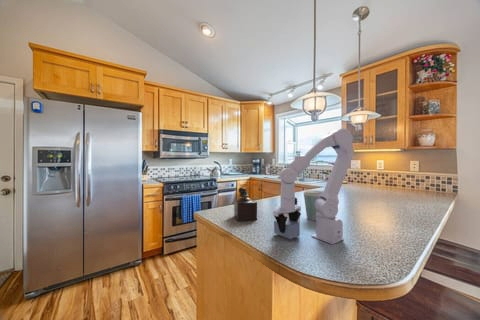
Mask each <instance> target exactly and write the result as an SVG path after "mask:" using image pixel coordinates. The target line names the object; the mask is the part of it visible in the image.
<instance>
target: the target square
mask: <svg viewBox="0 0 480 320" xmlns="http://www.w3.org/2000/svg"><path fill="white" fill-rule="evenodd" d="M275 237H277V238H279V239H281V240H284V241H286V242H288V243H289V242H292V241H295V240H297V239H301V237H300V236H298V237H295V238H292V239H288V238H286V237H283V236H280V235H278V234H276V235H275Z"/></svg>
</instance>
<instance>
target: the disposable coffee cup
mask: <svg viewBox="0 0 480 320" xmlns="http://www.w3.org/2000/svg"><path fill="white" fill-rule="evenodd" d="M323 191H324V190H318V189H316V190H314V189H313V190H305V191H304V192H303V199H304V205H305V207H304V208H305V213H306V219H308V220H310V221H316V213H317V210H316V208H315V205H314V204H315V201H316V199H318V198H319V196H320V194H321V193H322V192H323Z"/></svg>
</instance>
